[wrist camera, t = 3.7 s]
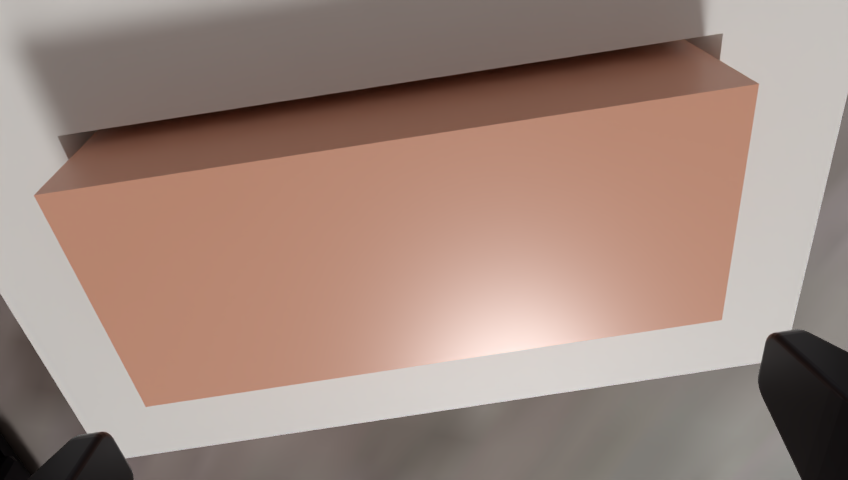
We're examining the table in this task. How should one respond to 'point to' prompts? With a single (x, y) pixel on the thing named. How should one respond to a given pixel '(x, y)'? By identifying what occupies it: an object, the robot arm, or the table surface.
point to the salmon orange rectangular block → (410, 220)
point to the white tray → (371, 67)
